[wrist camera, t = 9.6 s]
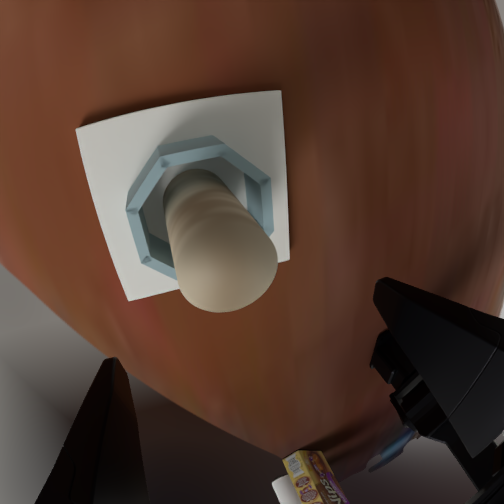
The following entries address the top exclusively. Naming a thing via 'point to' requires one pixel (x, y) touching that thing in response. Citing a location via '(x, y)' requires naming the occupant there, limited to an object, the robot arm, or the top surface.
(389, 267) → the top surface
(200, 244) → the rail post
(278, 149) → the cup bracket
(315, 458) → the candy box
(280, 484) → the cylindrical container
